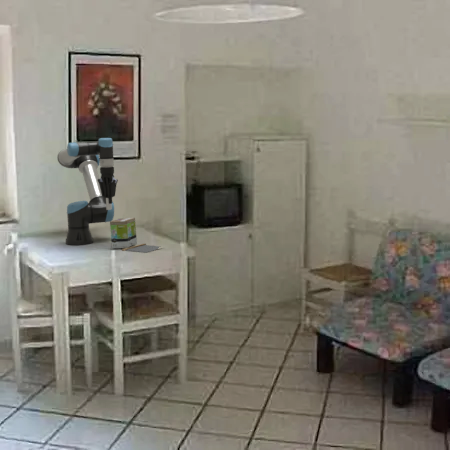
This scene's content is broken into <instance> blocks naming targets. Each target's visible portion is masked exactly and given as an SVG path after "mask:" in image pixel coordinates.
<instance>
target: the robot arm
mask: <svg viewBox="0 0 450 450" xmlns="http://www.w3.org/2000/svg"><path fill="white" fill-rule="evenodd" d="M114 161H115V160H114V143H113V138H111V137H101V138H98V140H97V141H96V140H95V141H79V142H75V141H73V142H68V143H67V145H66V148H65V149H62V150H60V151H58V154H57V162H58V163H59V165H61V166H62V167H64V168H67V169H78V171H79V172H80V173H81V174H82V176H83V177H82V178H83V179H84V180H83V181H84V183H85V187H86V189H87V193H88V197H89V202H88V200H79V201H74V202H71V203H69V204H67V206H66V215H67V226H68V227H67V228H68V229H67V232H66V233H67V235H66V238H65V244H66V245H67V246H68V245H69V246H81V245H89V244H93V242H94V238H93V236H92V233H91V231H90V224H98V223H99V224H101V223H108V222H109V223H110V222H111V221H114V217H115V205H114V201H113V197H115V196H116V191H117V189H116V188H117V183H118V181H119V180H118V178H115V176H114V174H115V167H114V166H115V162H114ZM99 166H100V168H99ZM98 168H99V173H100V176H99V174H98Z"/></svg>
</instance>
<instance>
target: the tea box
mask: <svg viewBox="0 0 450 450" xmlns="http://www.w3.org/2000/svg"><path fill="white" fill-rule="evenodd" d="M109 227H110V239H111V240H110V241H111V248H112V249H124V248H129V247H132V246H135V245H138V243H137V242H138V241H137V239H138V238H137V226H136V218H135V217H125V218H124V217H123V218H117V219H113V220H112V221H110V222H109Z"/></svg>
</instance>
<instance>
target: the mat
mask: <svg viewBox="0 0 450 450" xmlns="http://www.w3.org/2000/svg"><path fill="white" fill-rule="evenodd" d="M159 247H160V246H157V245H147V244H146V245H143V246H139V247H135V248H132V249H128V250H126V251H127V252H134V253H135V252H136V253H144V254H147V253H152V252H154V250H155V251H157V250H156V249H158V248H159ZM158 250H159V249H158Z"/></svg>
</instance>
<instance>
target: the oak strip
mask: <svg viewBox="0 0 450 450" xmlns="http://www.w3.org/2000/svg"><path fill="white" fill-rule="evenodd" d="M143 245H147V244H146V243H140V244H135V245H132V246H130V247H129V248H121V251H122V252H123V251H124V252H125V251H126V250H128V249H132V248H135V247H139V246H143Z"/></svg>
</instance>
